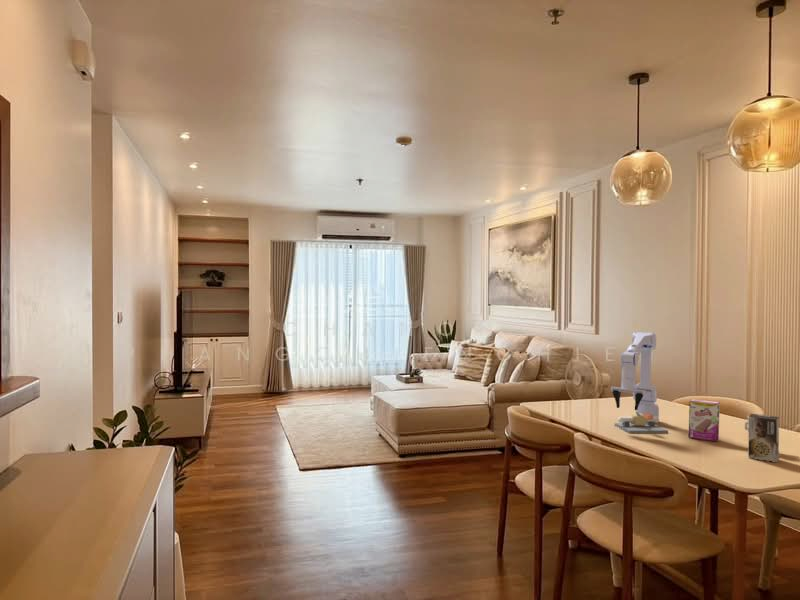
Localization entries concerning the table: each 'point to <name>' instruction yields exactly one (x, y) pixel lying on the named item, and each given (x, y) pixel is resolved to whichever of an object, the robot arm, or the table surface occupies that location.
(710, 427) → the candy bar box
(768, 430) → the coffee box
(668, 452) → the table surface
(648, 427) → the valve board
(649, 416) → the valve lever
